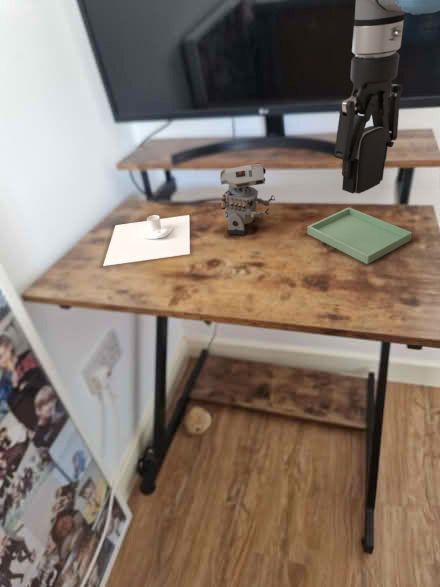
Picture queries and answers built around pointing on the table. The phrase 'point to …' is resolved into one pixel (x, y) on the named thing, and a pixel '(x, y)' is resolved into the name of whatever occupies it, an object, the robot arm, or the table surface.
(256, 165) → the figurine
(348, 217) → the tray
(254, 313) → the table surface
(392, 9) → the robot arm
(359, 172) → the battery charger
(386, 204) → the table surface
